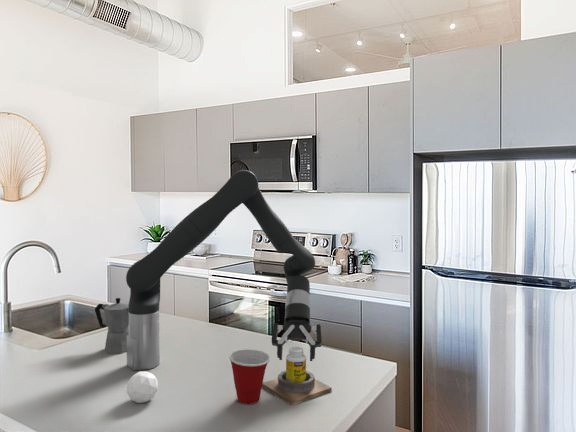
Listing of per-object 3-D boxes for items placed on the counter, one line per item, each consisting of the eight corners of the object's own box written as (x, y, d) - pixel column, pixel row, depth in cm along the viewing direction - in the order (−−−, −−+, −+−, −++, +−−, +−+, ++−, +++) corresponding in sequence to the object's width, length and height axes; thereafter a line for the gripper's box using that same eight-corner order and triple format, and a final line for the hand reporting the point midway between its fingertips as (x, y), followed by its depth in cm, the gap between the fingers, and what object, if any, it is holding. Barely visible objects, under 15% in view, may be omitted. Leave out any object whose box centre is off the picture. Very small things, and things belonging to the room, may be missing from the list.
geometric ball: (150, 411, 118) (161, 393, 114) (119, 405, 115) (129, 386, 111) (153, 387, 124) (164, 368, 121) (125, 380, 121) (134, 361, 118)
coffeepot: (142, 346, 160) (142, 295, 159) (128, 355, 150) (128, 302, 150) (103, 343, 163) (102, 293, 162) (87, 352, 153) (86, 299, 152)
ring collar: (291, 405, 116) (291, 391, 116) (261, 386, 127) (261, 374, 127) (331, 391, 125) (331, 378, 124) (300, 374, 136) (300, 363, 136)
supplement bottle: (293, 390, 122) (293, 353, 122) (282, 383, 127) (282, 347, 126) (309, 386, 125) (310, 349, 125) (298, 379, 130) (298, 344, 129)
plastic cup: (264, 411, 113) (264, 364, 112) (223, 407, 115) (223, 360, 114) (274, 392, 123) (274, 349, 123) (236, 389, 125) (236, 346, 125)
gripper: (273, 301, 134) (269, 352, 123) (321, 302, 133) (322, 354, 122) (274, 314, 139) (271, 364, 128) (321, 315, 138) (321, 366, 128)
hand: (295, 359), depth 125 cm, fingers open, 8 cm apart
